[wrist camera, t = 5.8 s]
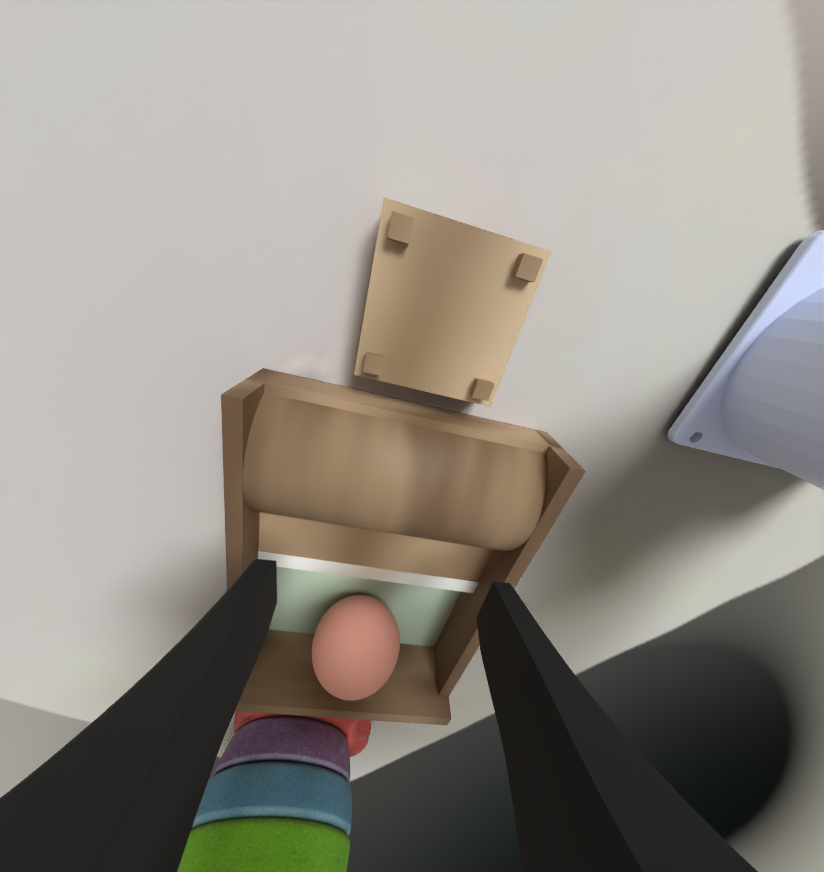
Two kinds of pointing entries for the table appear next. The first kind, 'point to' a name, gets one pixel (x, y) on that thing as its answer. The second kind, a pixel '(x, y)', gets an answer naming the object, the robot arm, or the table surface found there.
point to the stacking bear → (278, 797)
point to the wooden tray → (378, 529)
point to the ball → (355, 647)
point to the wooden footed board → (444, 304)
